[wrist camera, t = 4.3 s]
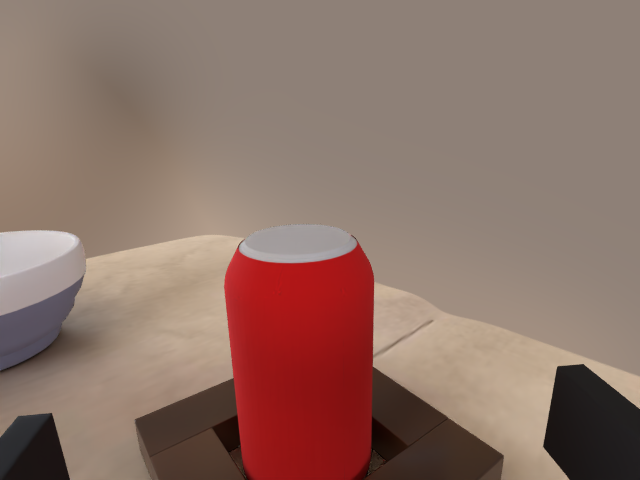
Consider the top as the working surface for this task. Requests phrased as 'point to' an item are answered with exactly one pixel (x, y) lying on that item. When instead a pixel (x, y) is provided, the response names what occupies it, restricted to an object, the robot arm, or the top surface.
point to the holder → (386, 438)
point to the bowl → (36, 289)
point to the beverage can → (302, 352)
